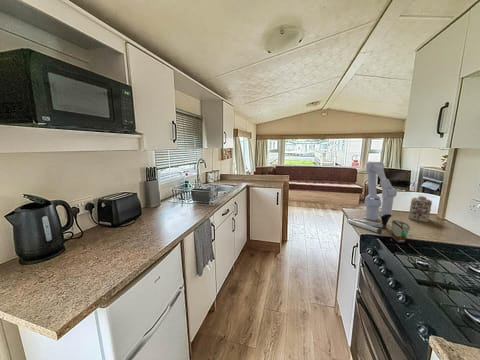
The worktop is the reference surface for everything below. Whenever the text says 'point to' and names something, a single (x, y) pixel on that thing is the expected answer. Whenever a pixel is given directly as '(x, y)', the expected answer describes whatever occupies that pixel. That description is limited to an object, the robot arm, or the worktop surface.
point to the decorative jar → (420, 209)
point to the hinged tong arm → (370, 223)
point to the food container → (399, 230)
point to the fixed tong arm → (364, 226)
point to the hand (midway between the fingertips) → (384, 224)
